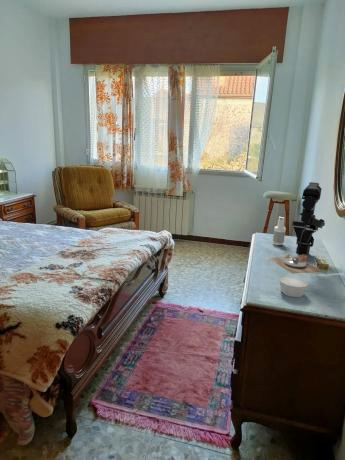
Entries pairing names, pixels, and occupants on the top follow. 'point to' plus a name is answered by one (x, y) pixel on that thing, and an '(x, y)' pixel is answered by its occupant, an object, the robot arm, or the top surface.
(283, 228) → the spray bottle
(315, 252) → the top surface
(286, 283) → the ramekin
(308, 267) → the base board
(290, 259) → the flange plate
